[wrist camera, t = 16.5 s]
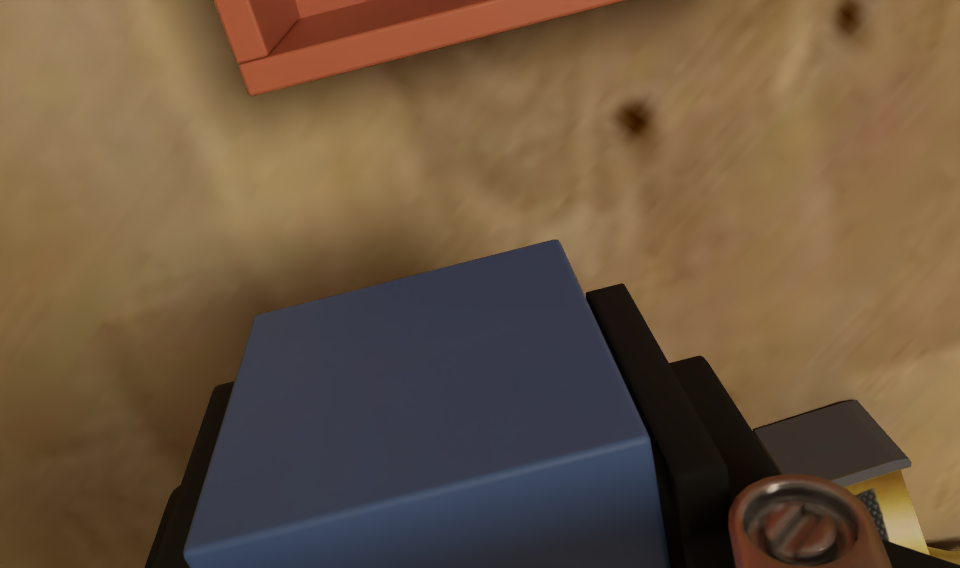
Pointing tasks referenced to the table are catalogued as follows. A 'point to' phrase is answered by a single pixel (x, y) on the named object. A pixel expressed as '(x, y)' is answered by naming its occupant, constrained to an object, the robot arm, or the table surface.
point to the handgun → (852, 466)
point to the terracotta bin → (363, 32)
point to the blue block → (433, 432)
